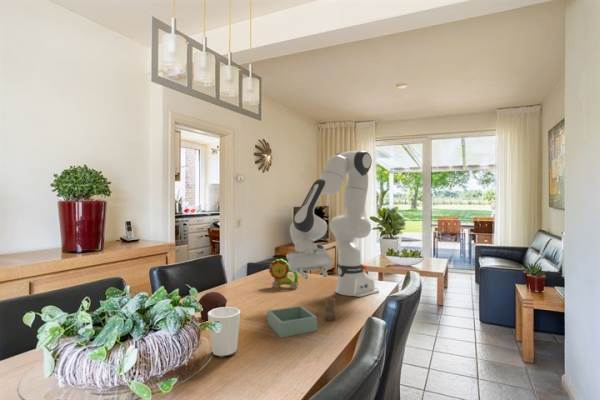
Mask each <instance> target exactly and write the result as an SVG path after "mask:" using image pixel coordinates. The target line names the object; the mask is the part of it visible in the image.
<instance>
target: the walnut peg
mask: <svg viewBox="0 0 600 400" xmlns="http://www.w3.org/2000/svg"><path fill="white" fill-rule="evenodd" d="M324 320H325V321H327V322H334V321H336V298H334V297H326V298H325V299H324Z"/></svg>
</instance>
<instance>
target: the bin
mask: <svg viewBox="0 0 600 400" xmlns="http://www.w3.org/2000/svg"><path fill="white" fill-rule="evenodd" d="M267 324H268V326H269V327H270V328H271V329H272V330H273V331H274V332H275V333H276V334H277V335H278V336H279V337H280V338H287V337H291V336H297V335H302V334H307V333H313V332H318V317H317V315H315V314H313V313H312V312H311V311H309V310H308V309H306V308H305V307H303V305H296V306H291V307H290V306H289V307H283V308H277V309H270V310H267Z"/></svg>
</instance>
